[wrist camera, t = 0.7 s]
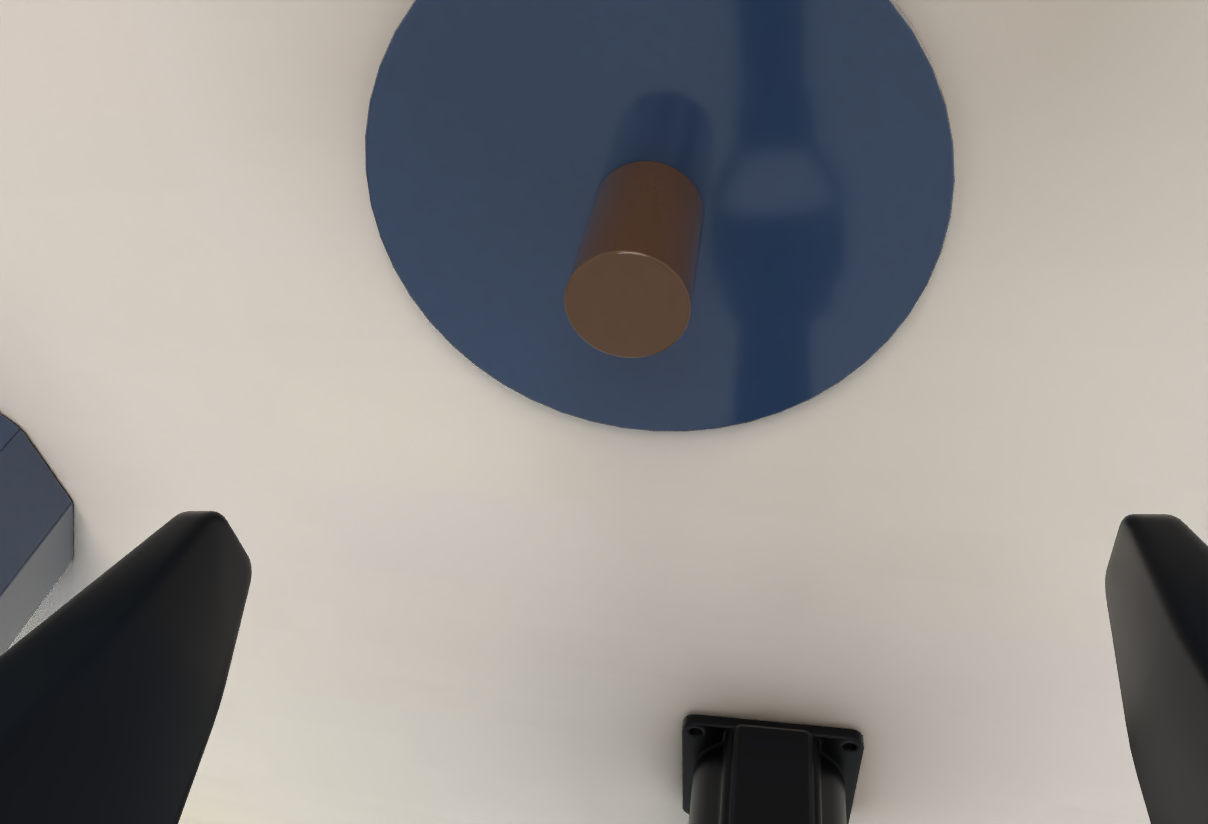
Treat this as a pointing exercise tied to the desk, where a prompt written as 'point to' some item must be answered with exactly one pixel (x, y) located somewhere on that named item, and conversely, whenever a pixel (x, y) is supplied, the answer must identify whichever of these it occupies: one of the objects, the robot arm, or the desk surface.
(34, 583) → the saucepan
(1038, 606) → the desk surface
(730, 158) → the lid
